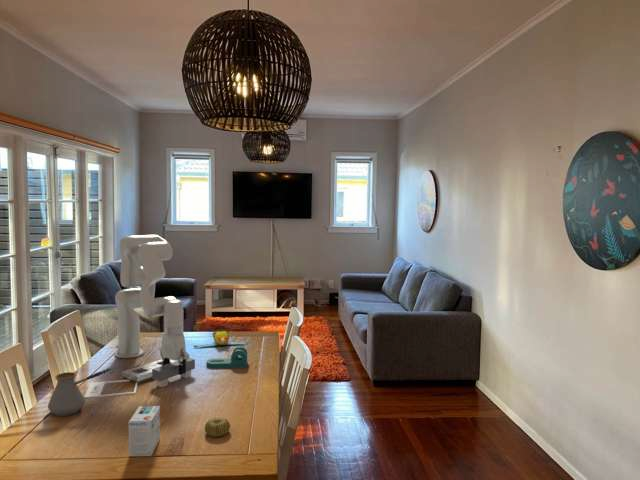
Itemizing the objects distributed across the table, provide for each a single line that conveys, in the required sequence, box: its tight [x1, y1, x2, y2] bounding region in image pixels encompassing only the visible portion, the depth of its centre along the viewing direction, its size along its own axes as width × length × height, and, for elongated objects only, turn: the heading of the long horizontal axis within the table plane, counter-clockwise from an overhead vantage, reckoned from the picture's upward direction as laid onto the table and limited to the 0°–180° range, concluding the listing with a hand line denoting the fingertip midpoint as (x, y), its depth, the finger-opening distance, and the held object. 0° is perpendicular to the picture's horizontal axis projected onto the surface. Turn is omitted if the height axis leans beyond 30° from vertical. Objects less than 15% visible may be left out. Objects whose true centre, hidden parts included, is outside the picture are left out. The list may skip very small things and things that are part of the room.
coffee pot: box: [47, 368, 113, 417], centre depth 171 cm, size 21×12×15 cm, turn 96°
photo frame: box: [83, 379, 139, 399], centre depth 192 cm, size 15×1×18 cm
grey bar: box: [151, 357, 196, 388], centre depth 201 cm, size 4×18×7 cm, turn 146°
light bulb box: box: [127, 405, 161, 457], centre depth 147 cm, size 11×7×11 cm, turn 5°
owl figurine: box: [193, 328, 250, 350], centre depth 252 cm, size 28×9×15 cm
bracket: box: [205, 345, 248, 369], centre depth 220 cm, size 18×7×8 cm, turn 95°
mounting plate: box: [121, 358, 176, 385], centre depth 209 cm, size 10×22×3 cm, turn 146°
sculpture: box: [204, 417, 231, 438], centre depth 157 cm, size 8×4×8 cm
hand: (174, 371), depth 201 cm, fingers open, 9 cm apart
